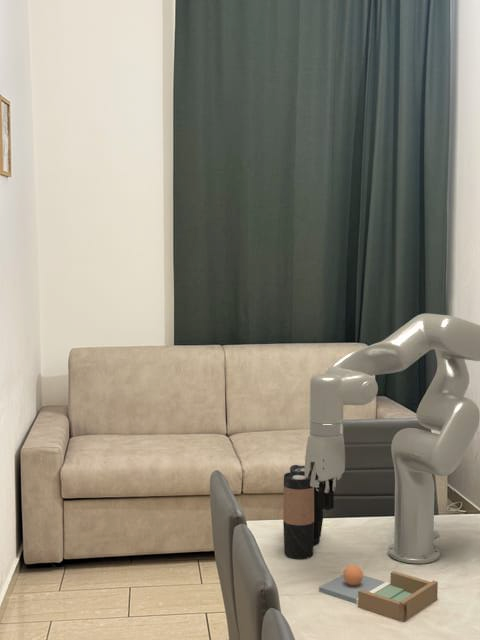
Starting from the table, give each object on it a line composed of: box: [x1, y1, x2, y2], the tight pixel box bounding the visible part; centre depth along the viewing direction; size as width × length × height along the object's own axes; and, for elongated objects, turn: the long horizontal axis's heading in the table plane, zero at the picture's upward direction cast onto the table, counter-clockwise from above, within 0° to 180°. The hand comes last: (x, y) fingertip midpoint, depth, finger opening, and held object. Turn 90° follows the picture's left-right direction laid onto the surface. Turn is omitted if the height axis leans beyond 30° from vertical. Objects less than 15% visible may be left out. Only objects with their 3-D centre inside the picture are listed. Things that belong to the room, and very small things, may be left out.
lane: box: [318, 570, 439, 623], centre depth 186 cm, size 14×22×4 cm, turn 49°
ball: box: [342, 564, 364, 585], centre depth 190 cm, size 4×4×4 cm
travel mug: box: [282, 472, 314, 560], centre depth 211 cm, size 8×8×20 cm
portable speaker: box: [289, 464, 324, 547], centre depth 219 cm, size 9×9×20 cm
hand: (325, 507), depth 194 cm, fingers closed
